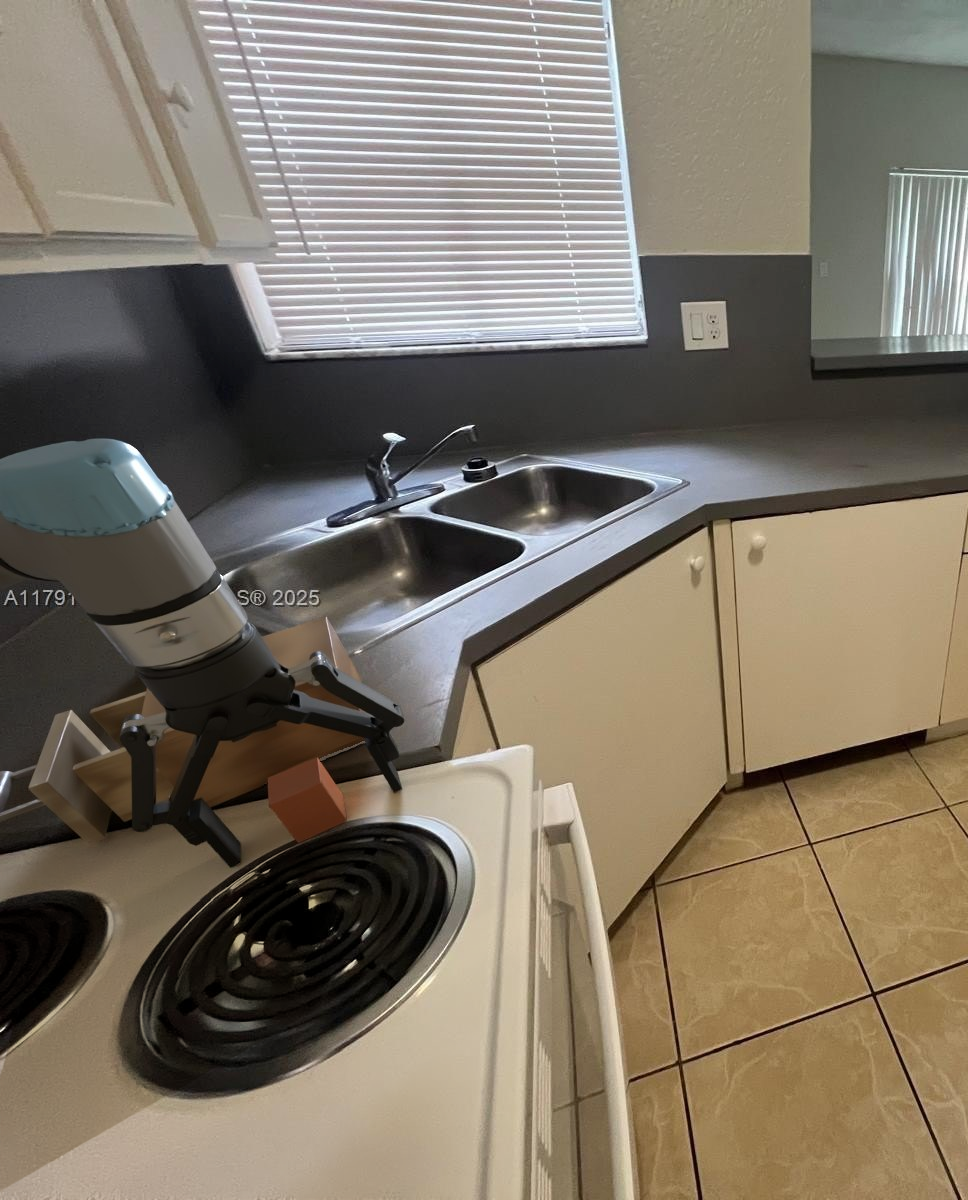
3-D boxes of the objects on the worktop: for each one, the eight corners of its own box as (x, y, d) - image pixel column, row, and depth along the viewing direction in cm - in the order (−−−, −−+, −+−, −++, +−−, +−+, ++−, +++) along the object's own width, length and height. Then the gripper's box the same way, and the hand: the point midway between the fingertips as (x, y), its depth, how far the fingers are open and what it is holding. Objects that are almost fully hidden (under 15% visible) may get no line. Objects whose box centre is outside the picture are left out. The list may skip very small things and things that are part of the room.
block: (298, 843, 59) (268, 805, 56) (295, 815, 61) (267, 777, 58) (347, 820, 61) (320, 782, 57) (342, 794, 63) (317, 757, 60)
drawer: (0, 881, 55) (-72, 824, 51) (30, 797, 63) (-30, 742, 59) (277, 768, 65) (236, 713, 61) (273, 707, 73) (237, 655, 69)
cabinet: (197, 813, 62) (135, 743, 57) (202, 738, 71) (149, 672, 65) (376, 739, 70) (337, 671, 64) (362, 679, 78) (326, 615, 73)
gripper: (-53, 744, 40) (150, 924, 52) (377, 605, 52) (463, 777, 64) (-19, 684, 46) (159, 861, 57) (366, 570, 57) (447, 736, 69)
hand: (320, 817), depth 61 cm, fingers open, 13 cm apart
